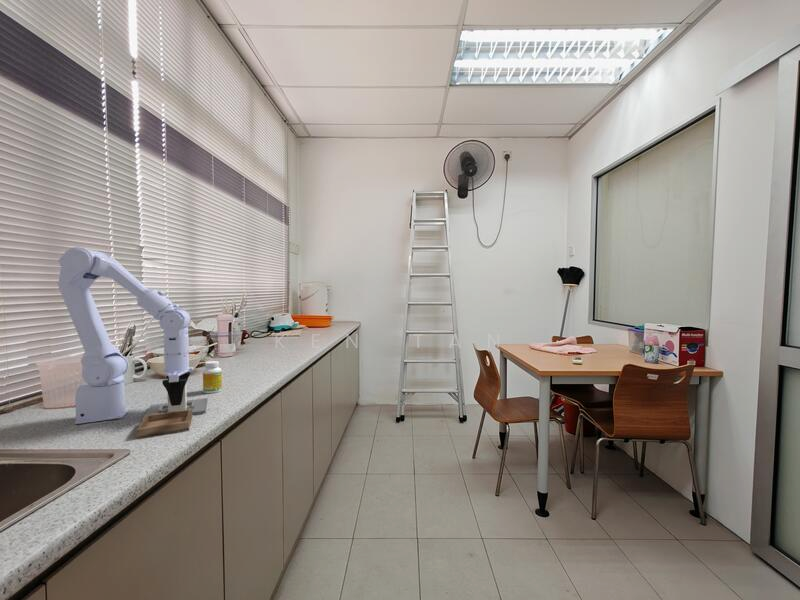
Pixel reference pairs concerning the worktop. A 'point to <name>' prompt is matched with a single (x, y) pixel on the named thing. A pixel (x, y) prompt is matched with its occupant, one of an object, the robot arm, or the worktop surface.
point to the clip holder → (196, 405)
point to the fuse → (183, 403)
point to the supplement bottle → (212, 377)
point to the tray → (164, 423)
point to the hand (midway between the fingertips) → (177, 402)
